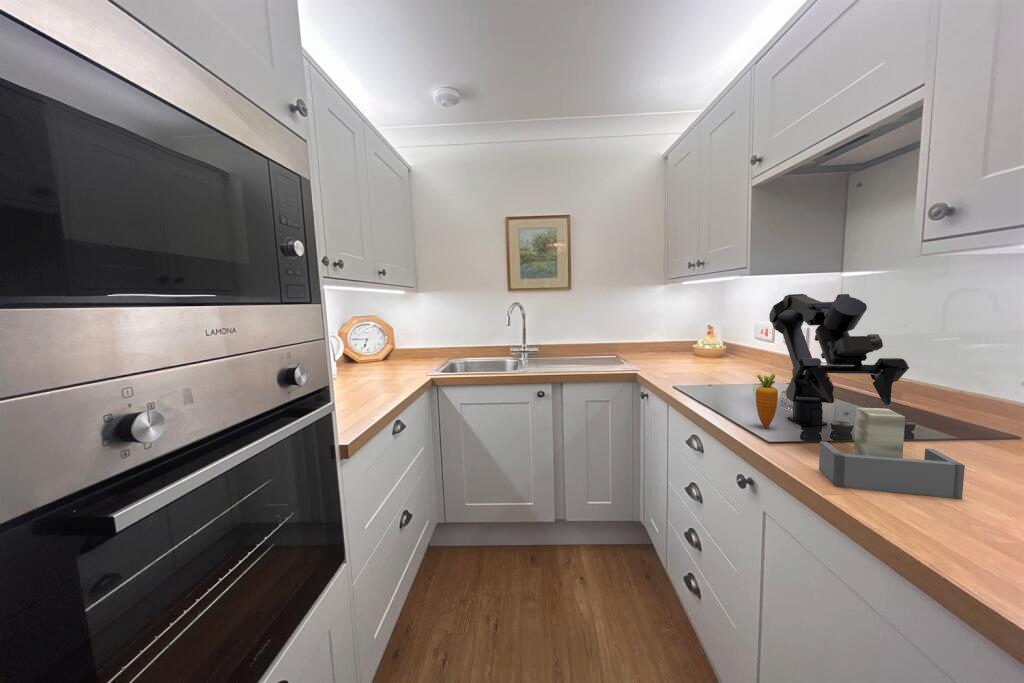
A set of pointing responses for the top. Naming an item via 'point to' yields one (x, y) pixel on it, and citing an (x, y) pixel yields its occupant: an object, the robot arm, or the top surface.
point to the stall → (894, 472)
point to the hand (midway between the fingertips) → (859, 403)
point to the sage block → (879, 433)
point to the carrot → (766, 400)
